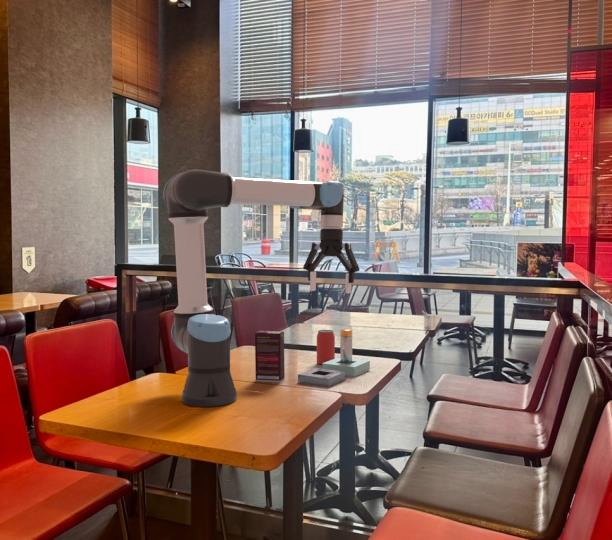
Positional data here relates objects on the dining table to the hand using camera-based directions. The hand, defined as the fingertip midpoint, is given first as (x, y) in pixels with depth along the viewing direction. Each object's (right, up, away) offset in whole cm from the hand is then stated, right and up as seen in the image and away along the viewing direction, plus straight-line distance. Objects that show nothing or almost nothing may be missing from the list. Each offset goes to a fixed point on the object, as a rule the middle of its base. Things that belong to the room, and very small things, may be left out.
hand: (330, 292), depth 195 cm
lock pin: (+6, -27, +3) cm, 28 cm away
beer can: (-1, -27, +17) cm, 32 cm away
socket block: (+6, -27, +3) cm, 28 cm away
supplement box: (-20, -28, -10) cm, 36 cm away
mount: (-3, -28, -11) cm, 30 cm away
